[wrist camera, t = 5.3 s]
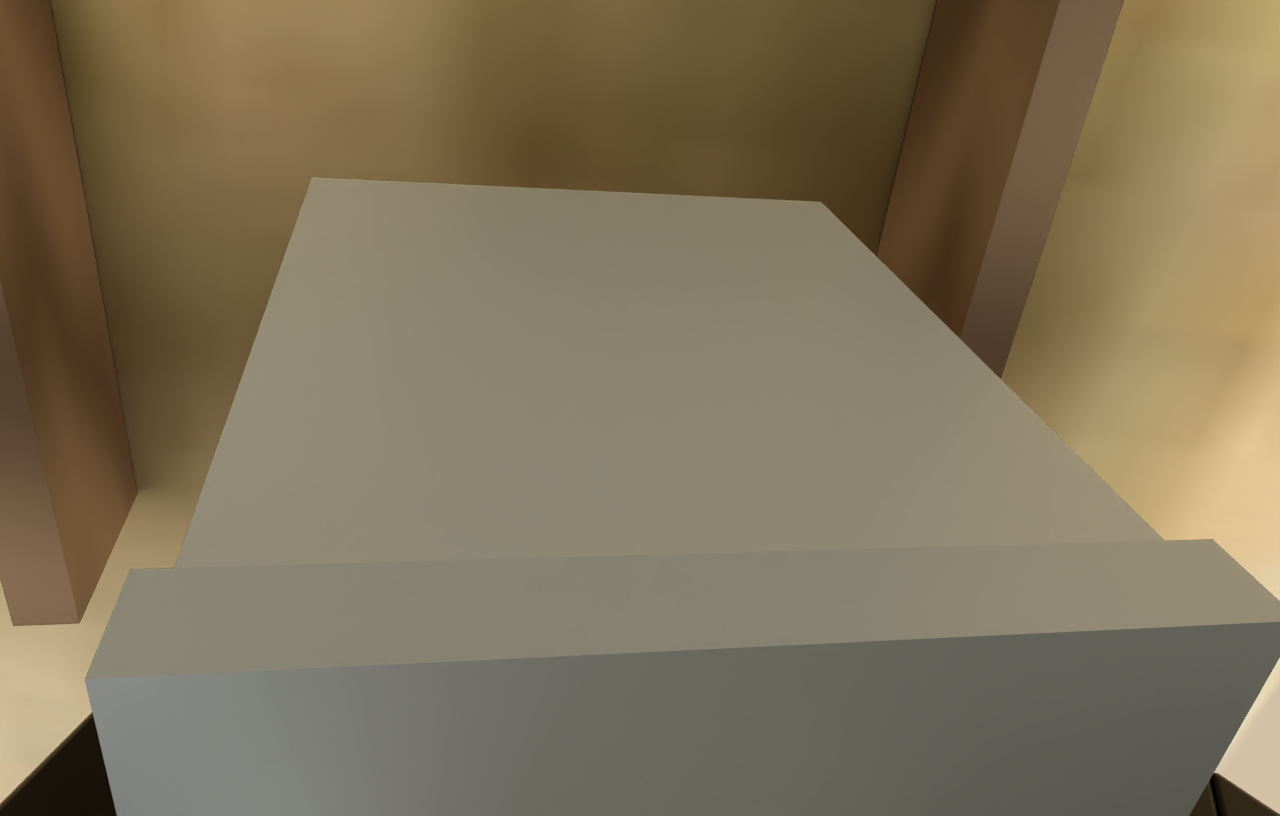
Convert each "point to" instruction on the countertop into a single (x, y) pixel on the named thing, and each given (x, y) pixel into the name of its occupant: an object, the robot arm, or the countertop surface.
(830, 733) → the light grey block
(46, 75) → the brown shallow wooden tray
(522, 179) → the countertop surface
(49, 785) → the robot arm
